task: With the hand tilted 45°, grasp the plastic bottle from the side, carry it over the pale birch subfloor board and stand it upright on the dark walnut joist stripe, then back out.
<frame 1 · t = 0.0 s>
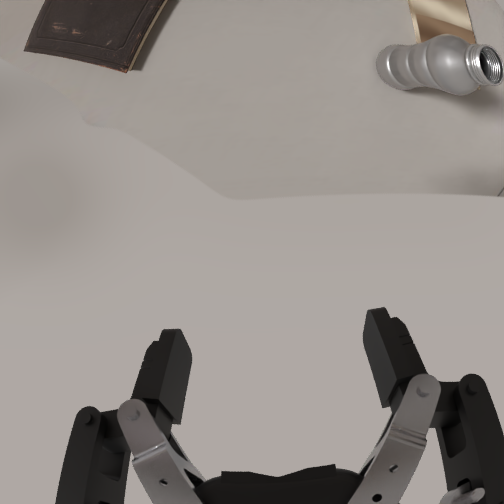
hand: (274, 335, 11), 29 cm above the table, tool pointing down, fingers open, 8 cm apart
hardcover book: (96, 13, 23), on the table
plastic bottle: (391, 68, 28), on the table
subfloor board: (442, 26, 22), on the table
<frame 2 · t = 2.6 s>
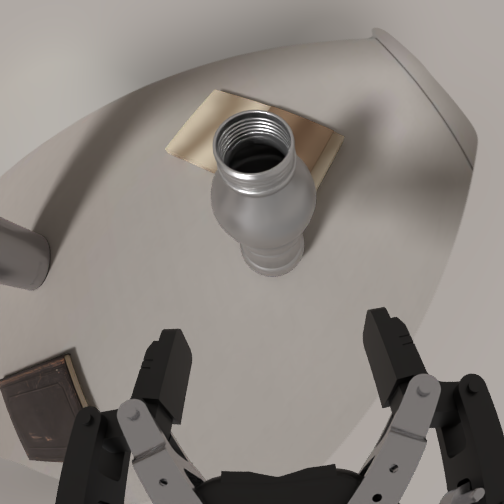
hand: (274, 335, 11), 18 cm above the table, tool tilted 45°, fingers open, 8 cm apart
hardcover book: (50, 414, 29), on the table
plastic bottle: (273, 250, 31), on the table
subfloor board: (253, 143, 34), on the table
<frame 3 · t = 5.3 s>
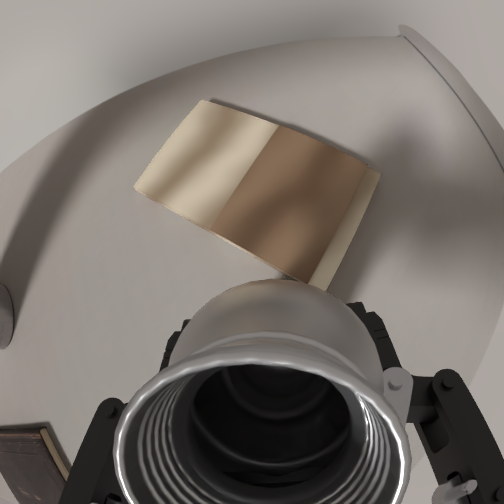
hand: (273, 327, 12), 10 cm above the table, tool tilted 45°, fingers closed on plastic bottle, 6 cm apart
hardcover book: (36, 473, 20), on the table
plastic bottle: (280, 342, 22), on the table, touching gripper
subfloor board: (253, 181, 25), on the table
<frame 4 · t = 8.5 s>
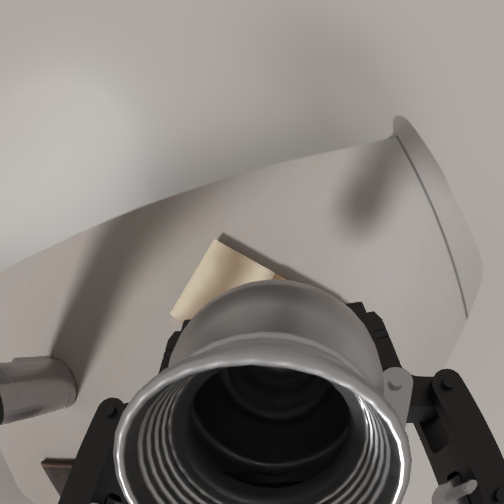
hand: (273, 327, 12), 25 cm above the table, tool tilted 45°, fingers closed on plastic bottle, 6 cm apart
hardcover book: (93, 491, 32), on the table
plastic bottle: (280, 342, 22), point 14 cm above the table, touching gripper
subfloor board: (256, 315, 36), on the table
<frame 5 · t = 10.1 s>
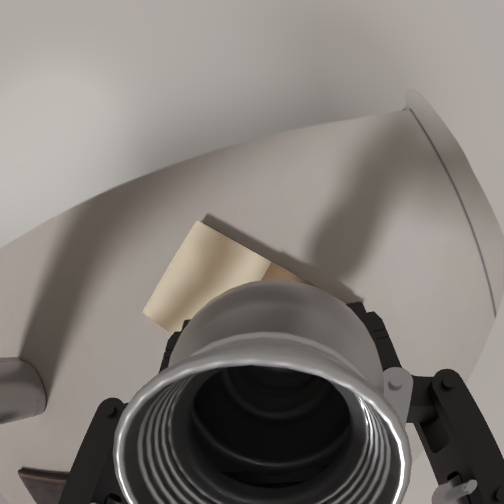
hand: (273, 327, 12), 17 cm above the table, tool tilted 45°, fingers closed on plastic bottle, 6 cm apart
plastic bottle: (280, 342, 22), point 7 cm above the table, touching gripper
subfloor board: (247, 315, 29), on the table
when the fingers open (13 cm above the table, at t = 11.7 s): plastic bottle drops 1 cm, resting on subfloor board.
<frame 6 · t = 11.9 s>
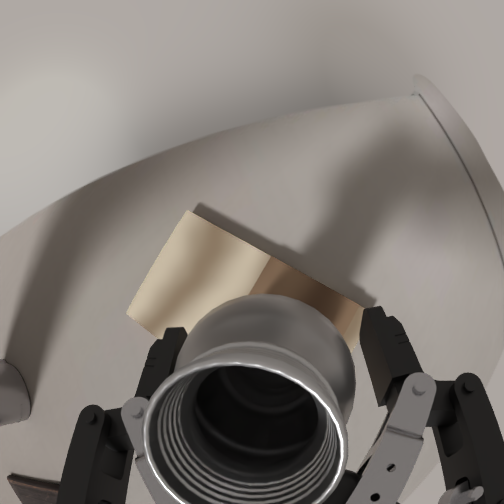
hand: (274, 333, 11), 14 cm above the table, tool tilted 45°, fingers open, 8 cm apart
plastic bottle: (276, 343, 23), point 1 cm above the table, touching subfloor board
subfloor board: (243, 317, 25), on the table
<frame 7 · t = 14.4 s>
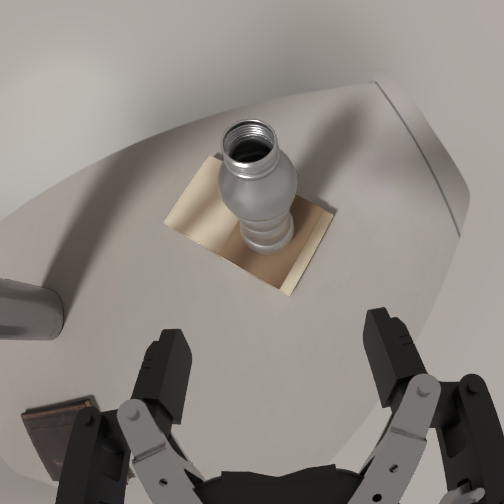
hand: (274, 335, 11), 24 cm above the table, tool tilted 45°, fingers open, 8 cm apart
hardcover book: (71, 444, 33), on the table
plastic bottle: (268, 233, 36), point 1 cm above the table, touching subfloor board
subfloor board: (246, 220, 38), on the table
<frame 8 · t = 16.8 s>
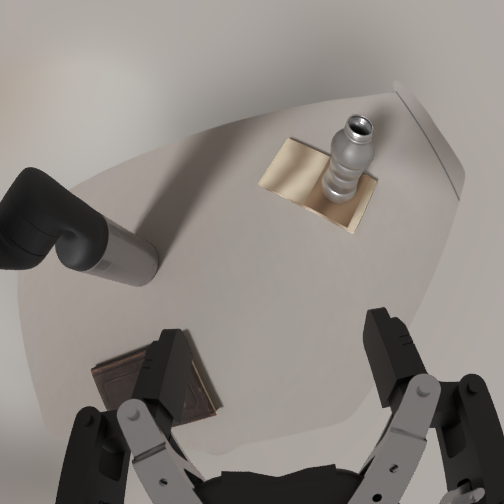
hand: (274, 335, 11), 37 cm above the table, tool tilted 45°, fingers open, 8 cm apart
hardcover book: (151, 390, 47), on the table
plastic bottle: (336, 191, 50), point 1 cm above the table, touching subfloor board
subfloor board: (319, 183, 52), on the table
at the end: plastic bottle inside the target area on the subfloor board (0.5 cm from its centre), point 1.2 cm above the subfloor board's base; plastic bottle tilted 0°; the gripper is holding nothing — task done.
